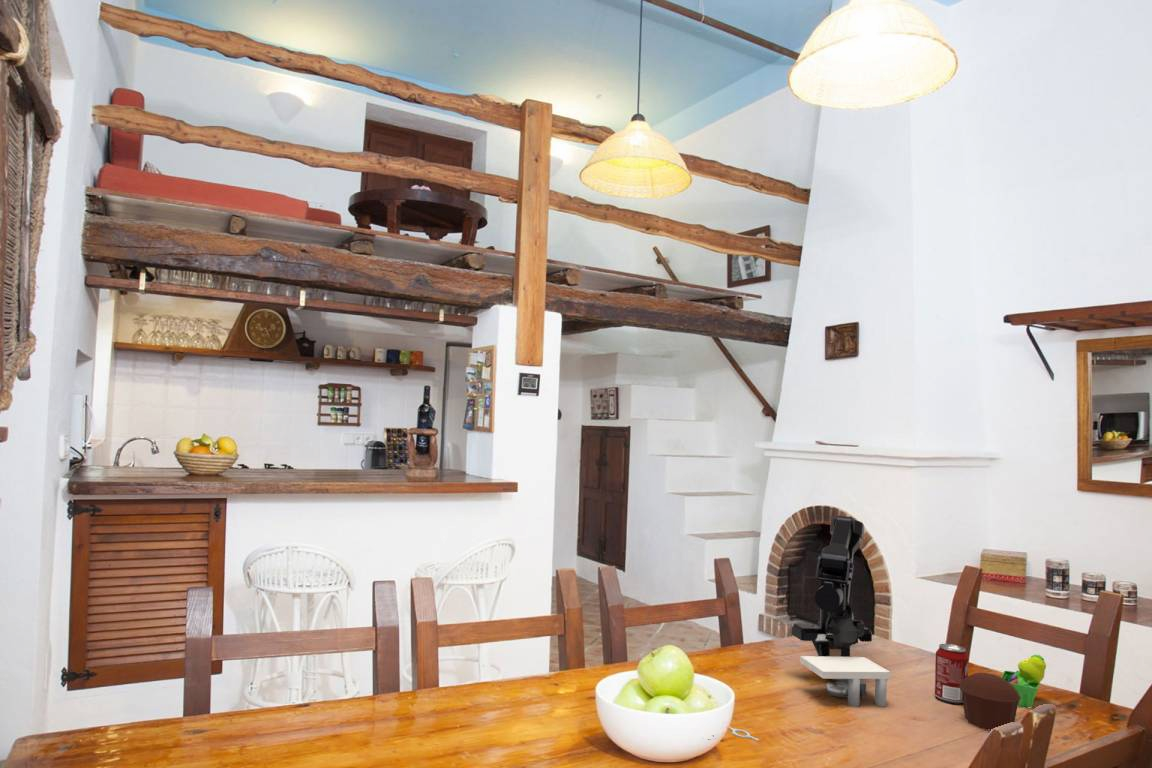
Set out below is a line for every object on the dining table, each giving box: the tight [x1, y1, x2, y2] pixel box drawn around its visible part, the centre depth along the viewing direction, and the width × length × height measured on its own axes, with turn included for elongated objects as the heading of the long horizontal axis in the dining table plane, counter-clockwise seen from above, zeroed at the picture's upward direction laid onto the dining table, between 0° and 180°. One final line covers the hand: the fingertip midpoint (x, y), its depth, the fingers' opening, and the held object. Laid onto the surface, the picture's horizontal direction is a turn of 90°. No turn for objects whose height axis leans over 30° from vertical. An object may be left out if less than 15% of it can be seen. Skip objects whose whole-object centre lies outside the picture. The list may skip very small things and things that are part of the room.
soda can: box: [934, 643, 969, 705], centre depth 177 cm, size 7×7×12 cm
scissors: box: [728, 726, 760, 742], centre depth 154 cm, size 11×1×20 cm
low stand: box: [799, 655, 891, 708], centre depth 174 cm, size 11×16×8 cm
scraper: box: [827, 644, 867, 699], centre depth 181 cm, size 17×3×7 cm, turn 10°
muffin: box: [959, 672, 1021, 731], centre depth 163 cm, size 12×11×10 cm
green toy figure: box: [1000, 654, 1047, 708], centre depth 179 cm, size 11×9×11 cm
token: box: [826, 681, 848, 698], centre depth 176 cm, size 5×5×2 cm
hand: (830, 668), depth 188 cm, fingers closed on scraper, 3 cm apart
